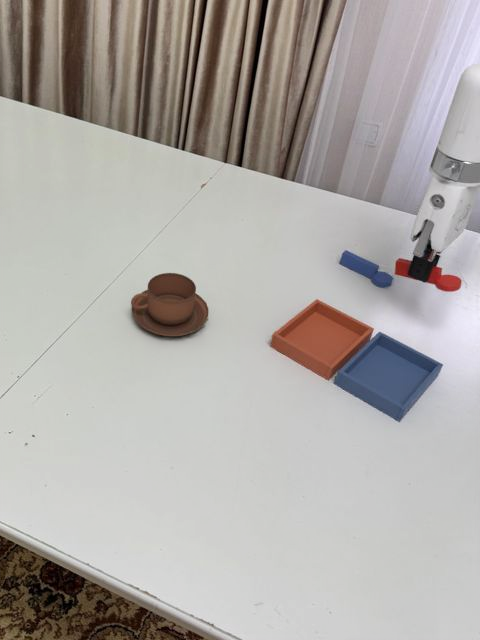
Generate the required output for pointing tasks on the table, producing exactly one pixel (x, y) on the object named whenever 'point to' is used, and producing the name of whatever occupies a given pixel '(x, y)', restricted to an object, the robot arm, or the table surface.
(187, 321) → the cup and saucer
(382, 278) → the blue spoon
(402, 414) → the slate tray
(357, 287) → the table surface
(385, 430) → the table surface
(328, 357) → the terracotta tray
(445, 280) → the red spoon
